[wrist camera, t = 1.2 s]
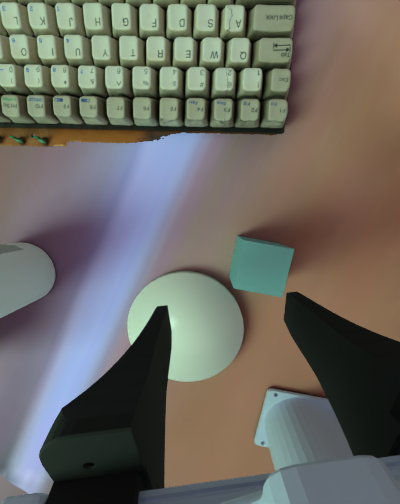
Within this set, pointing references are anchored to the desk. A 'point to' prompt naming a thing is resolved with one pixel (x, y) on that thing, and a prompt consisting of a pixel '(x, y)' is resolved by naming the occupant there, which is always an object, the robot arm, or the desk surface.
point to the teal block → (260, 266)
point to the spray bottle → (23, 276)
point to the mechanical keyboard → (142, 69)
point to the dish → (192, 322)
